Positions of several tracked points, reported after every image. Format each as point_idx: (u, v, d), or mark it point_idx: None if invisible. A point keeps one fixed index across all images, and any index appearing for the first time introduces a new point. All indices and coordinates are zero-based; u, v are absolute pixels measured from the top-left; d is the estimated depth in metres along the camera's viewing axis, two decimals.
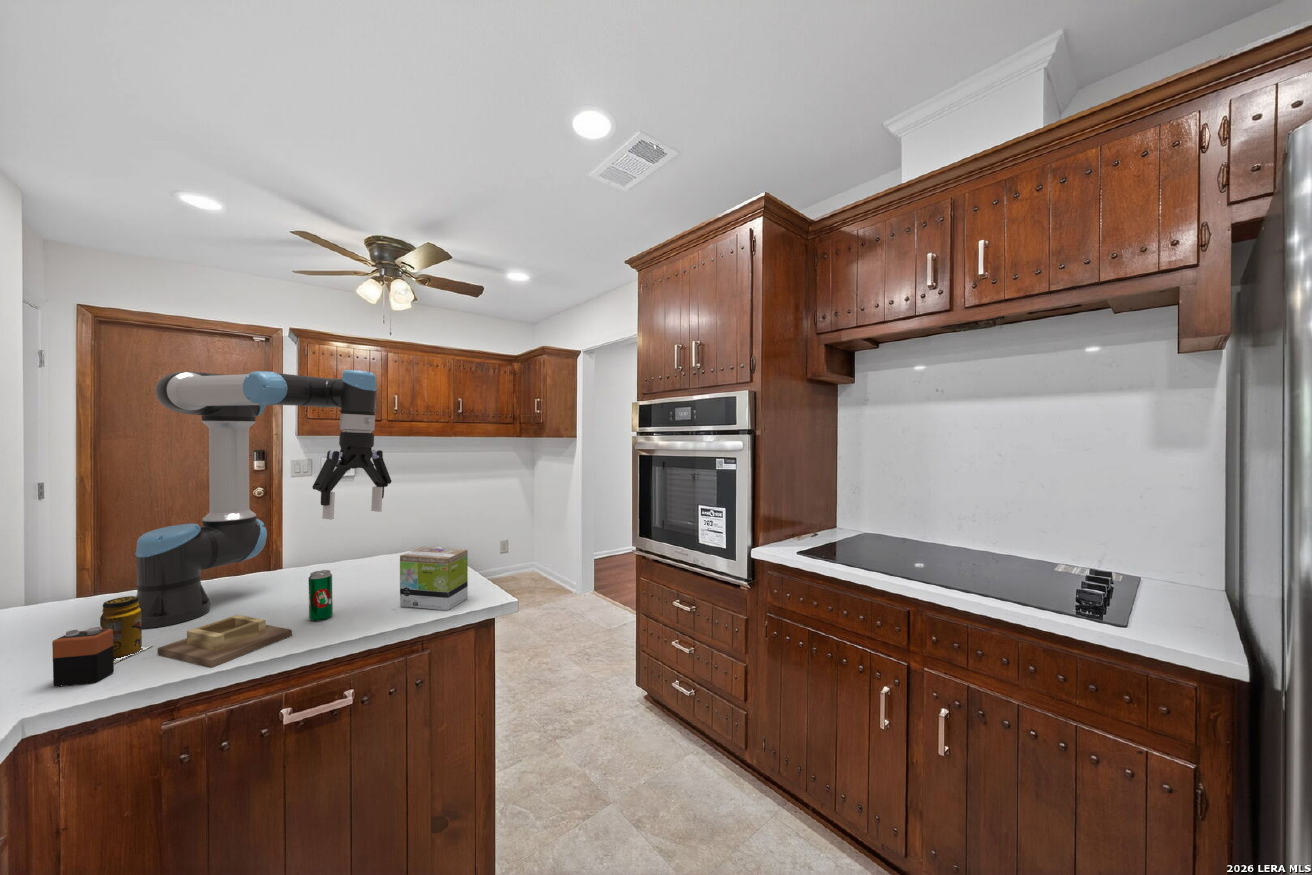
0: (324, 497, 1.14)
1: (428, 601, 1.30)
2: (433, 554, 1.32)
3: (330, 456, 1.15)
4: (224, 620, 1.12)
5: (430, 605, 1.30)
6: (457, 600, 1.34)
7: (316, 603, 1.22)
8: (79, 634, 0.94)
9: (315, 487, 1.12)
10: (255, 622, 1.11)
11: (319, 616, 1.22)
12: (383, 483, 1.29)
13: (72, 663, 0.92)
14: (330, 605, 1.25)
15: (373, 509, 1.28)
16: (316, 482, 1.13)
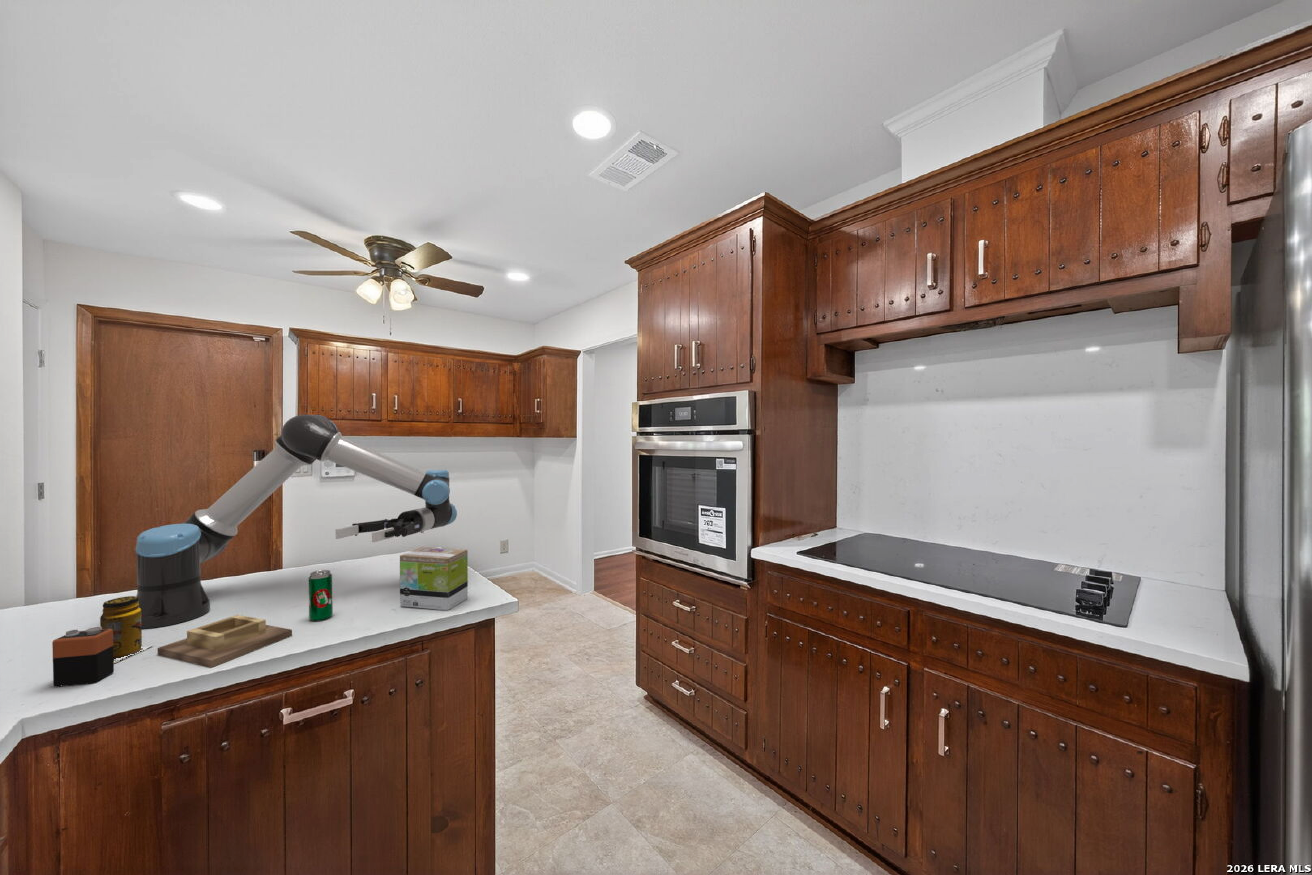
0: (393, 535, 1.36)
1: (428, 601, 1.30)
2: (433, 554, 1.32)
3: (416, 526, 1.46)
4: (224, 620, 1.12)
5: (430, 605, 1.30)
6: (457, 600, 1.34)
7: (316, 603, 1.22)
8: (79, 634, 0.94)
9: (405, 531, 1.38)
10: (255, 622, 1.11)
11: (319, 616, 1.22)
12: None
13: (72, 663, 0.92)
14: (330, 605, 1.25)
15: (338, 531, 1.36)
16: (407, 529, 1.39)
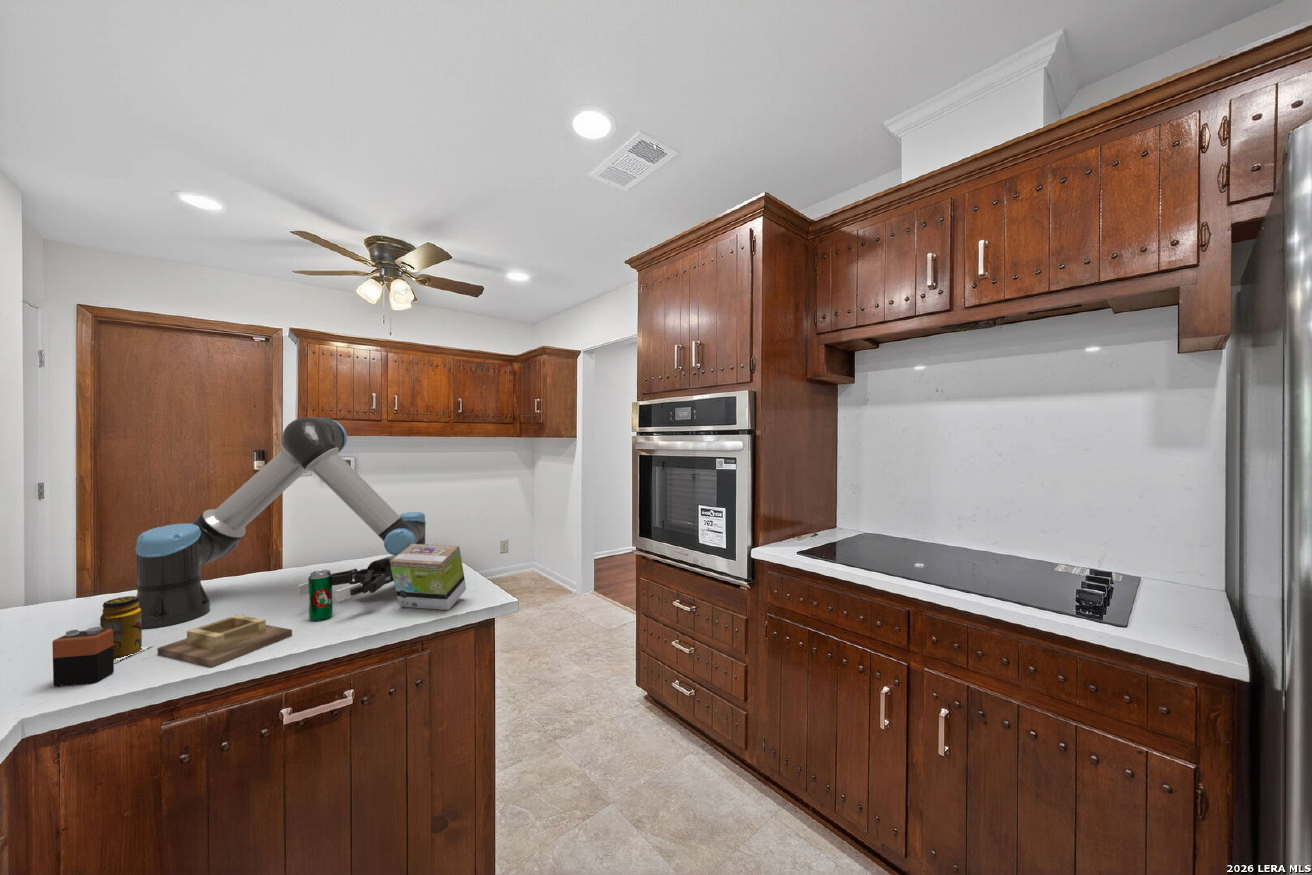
0: (360, 591, 1.26)
1: (427, 602, 1.30)
2: (424, 558, 1.28)
3: (387, 578, 1.36)
4: (224, 620, 1.12)
5: (430, 605, 1.30)
6: (456, 596, 1.33)
7: (316, 603, 1.22)
8: (79, 634, 0.94)
9: (373, 586, 1.28)
10: (255, 622, 1.11)
11: (319, 616, 1.22)
12: None
13: (72, 663, 0.92)
14: (330, 605, 1.25)
15: (301, 587, 1.26)
16: (376, 584, 1.29)
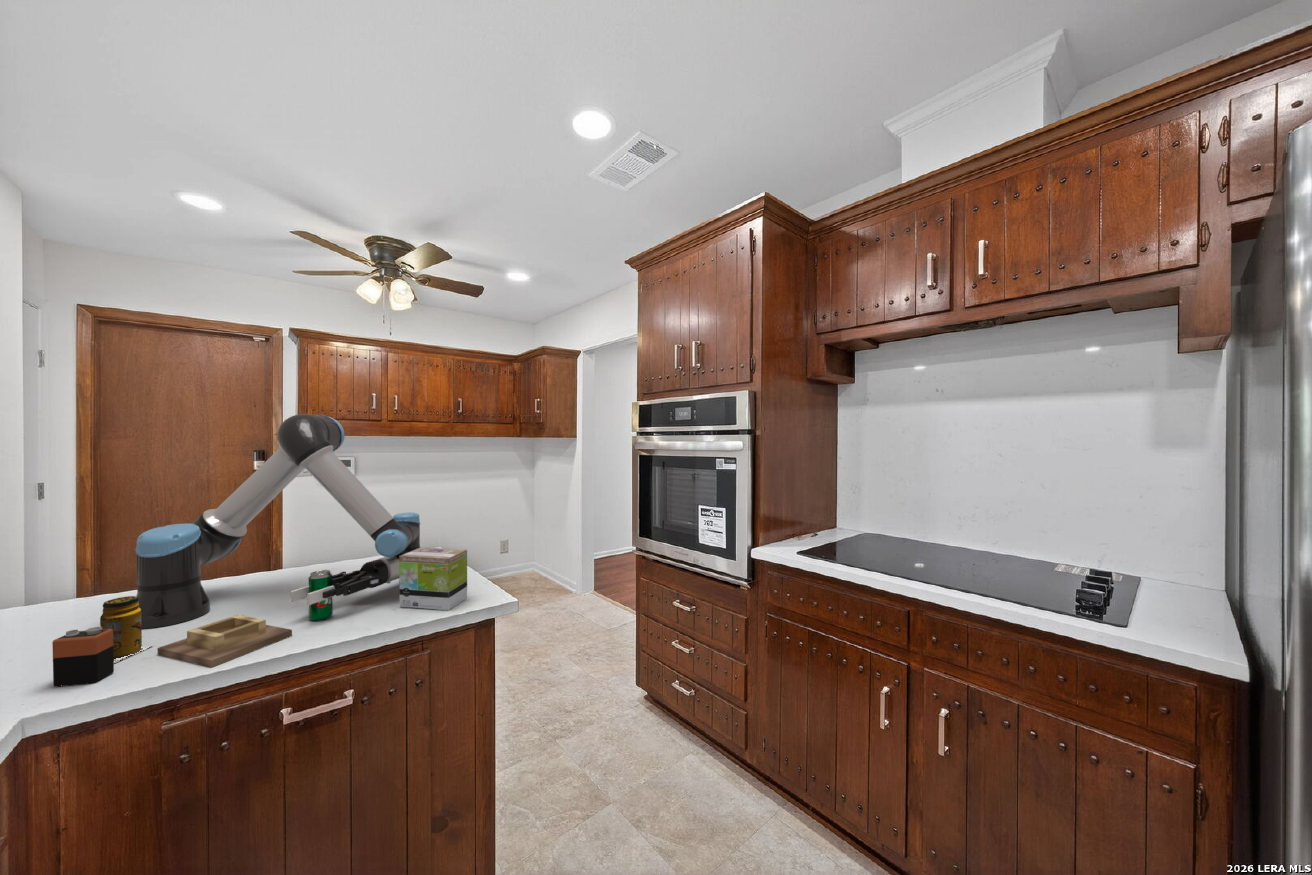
0: (333, 594, 1.23)
1: (428, 601, 1.30)
2: (433, 554, 1.32)
3: (373, 581, 1.32)
4: (224, 620, 1.12)
5: (431, 605, 1.30)
6: (457, 600, 1.34)
7: (316, 603, 1.22)
8: (79, 634, 0.94)
9: (347, 589, 1.25)
10: (255, 622, 1.11)
11: (319, 616, 1.22)
12: None
13: (72, 663, 0.92)
14: (330, 605, 1.25)
15: (294, 593, 1.21)
16: (350, 587, 1.26)
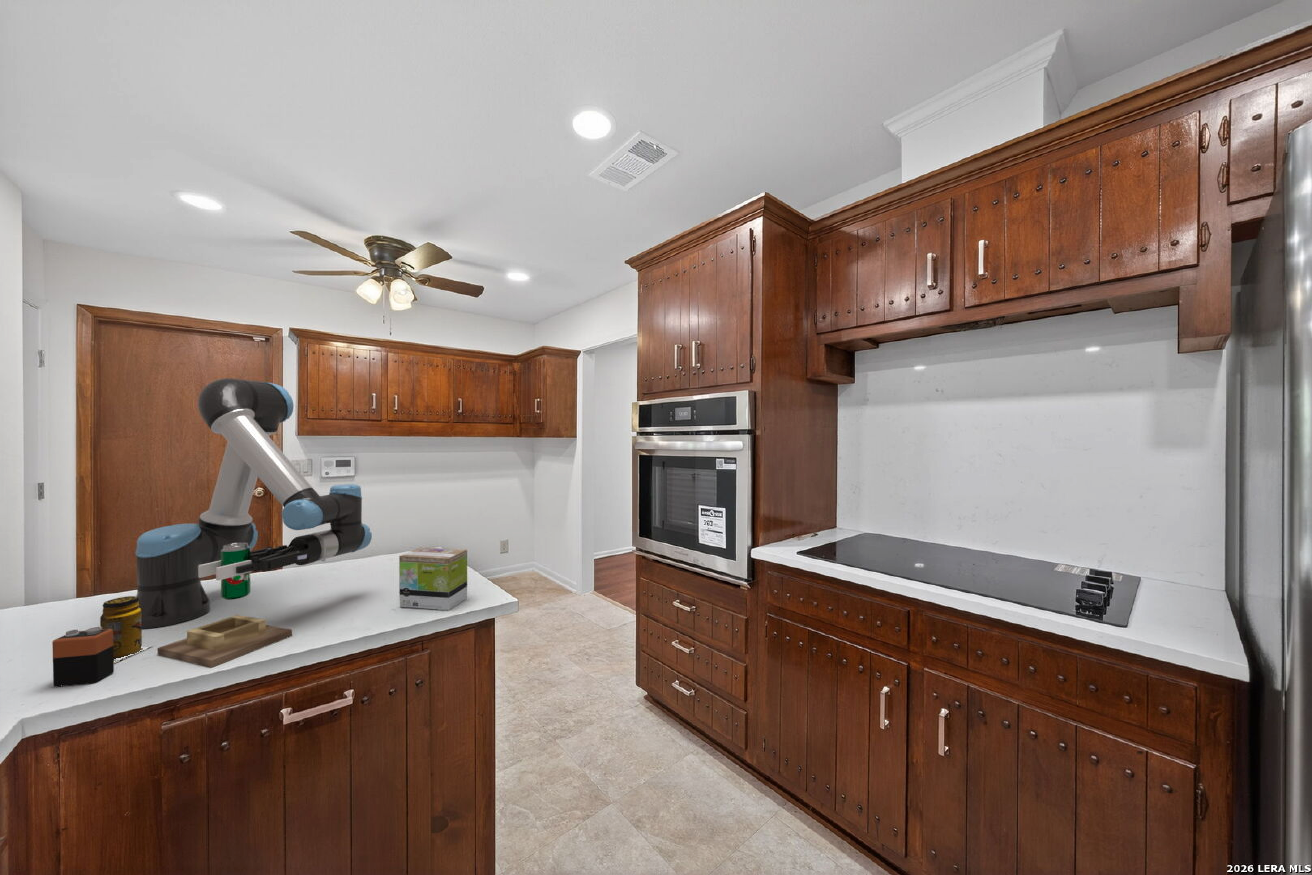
0: (249, 569, 1.09)
1: (428, 601, 1.30)
2: (433, 554, 1.32)
3: (300, 557, 1.18)
4: (224, 620, 1.12)
5: (431, 605, 1.30)
6: (457, 600, 1.34)
7: (228, 579, 1.07)
8: (79, 634, 0.94)
9: (266, 564, 1.10)
10: (255, 622, 1.11)
11: (232, 594, 1.08)
12: None
13: (72, 663, 0.92)
14: (247, 582, 1.10)
15: (202, 568, 1.06)
16: (271, 561, 1.11)
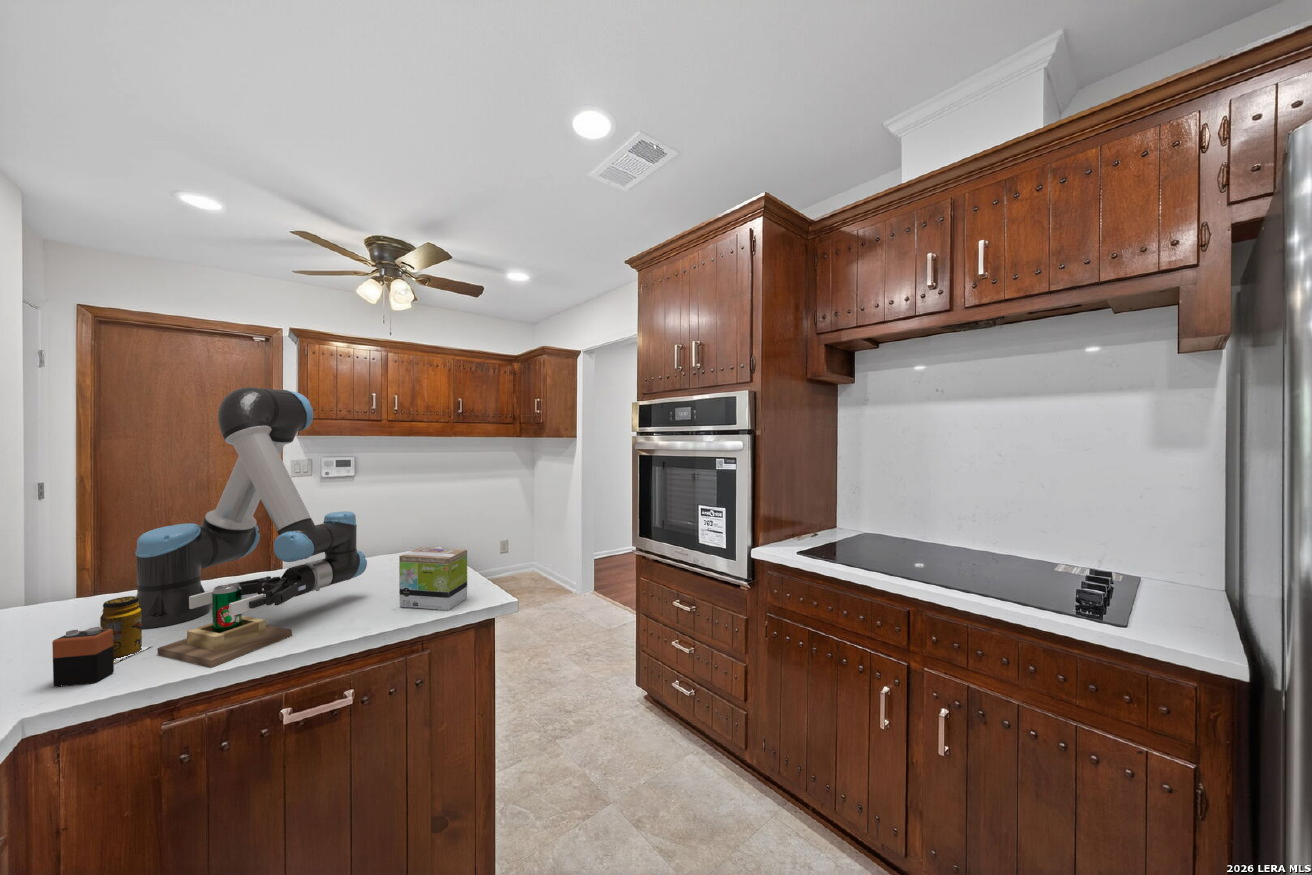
0: (262, 604, 1.08)
1: (428, 601, 1.30)
2: (433, 554, 1.32)
3: (301, 587, 1.18)
4: None
5: (431, 605, 1.30)
6: (457, 600, 1.34)
7: (219, 622, 1.07)
8: (79, 634, 0.94)
9: (279, 598, 1.10)
10: (255, 622, 1.11)
11: None
12: None
13: (72, 663, 0.92)
14: (238, 623, 1.09)
15: (193, 599, 1.08)
16: (282, 594, 1.11)
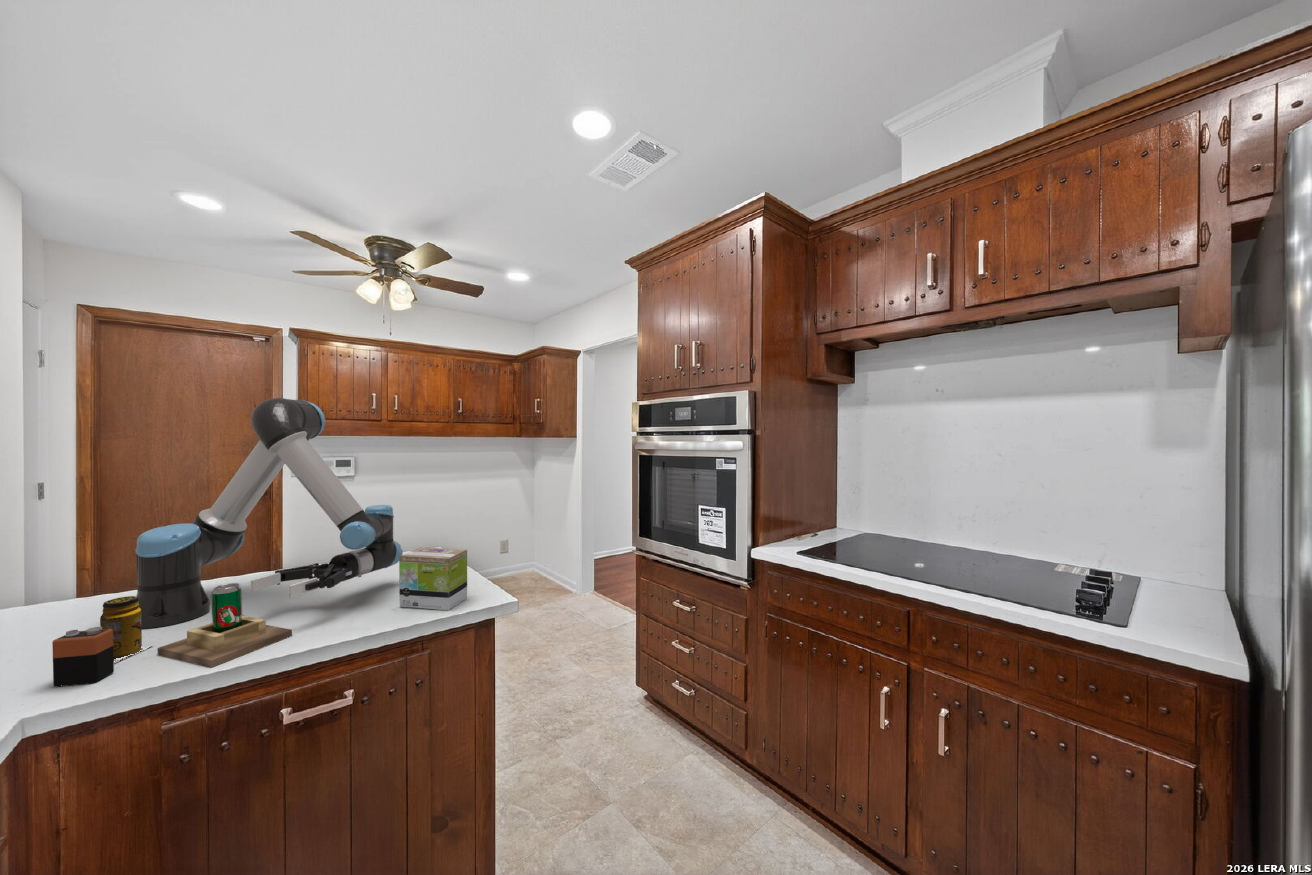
0: (316, 586, 1.20)
1: (428, 601, 1.30)
2: (433, 554, 1.32)
3: (348, 573, 1.30)
4: None
5: (431, 605, 1.30)
6: (457, 600, 1.34)
7: (219, 622, 1.07)
8: (79, 634, 0.94)
9: (331, 581, 1.22)
10: (255, 622, 1.11)
11: None
12: None
13: (72, 663, 0.92)
14: (238, 623, 1.09)
15: (254, 582, 1.20)
16: (334, 578, 1.23)
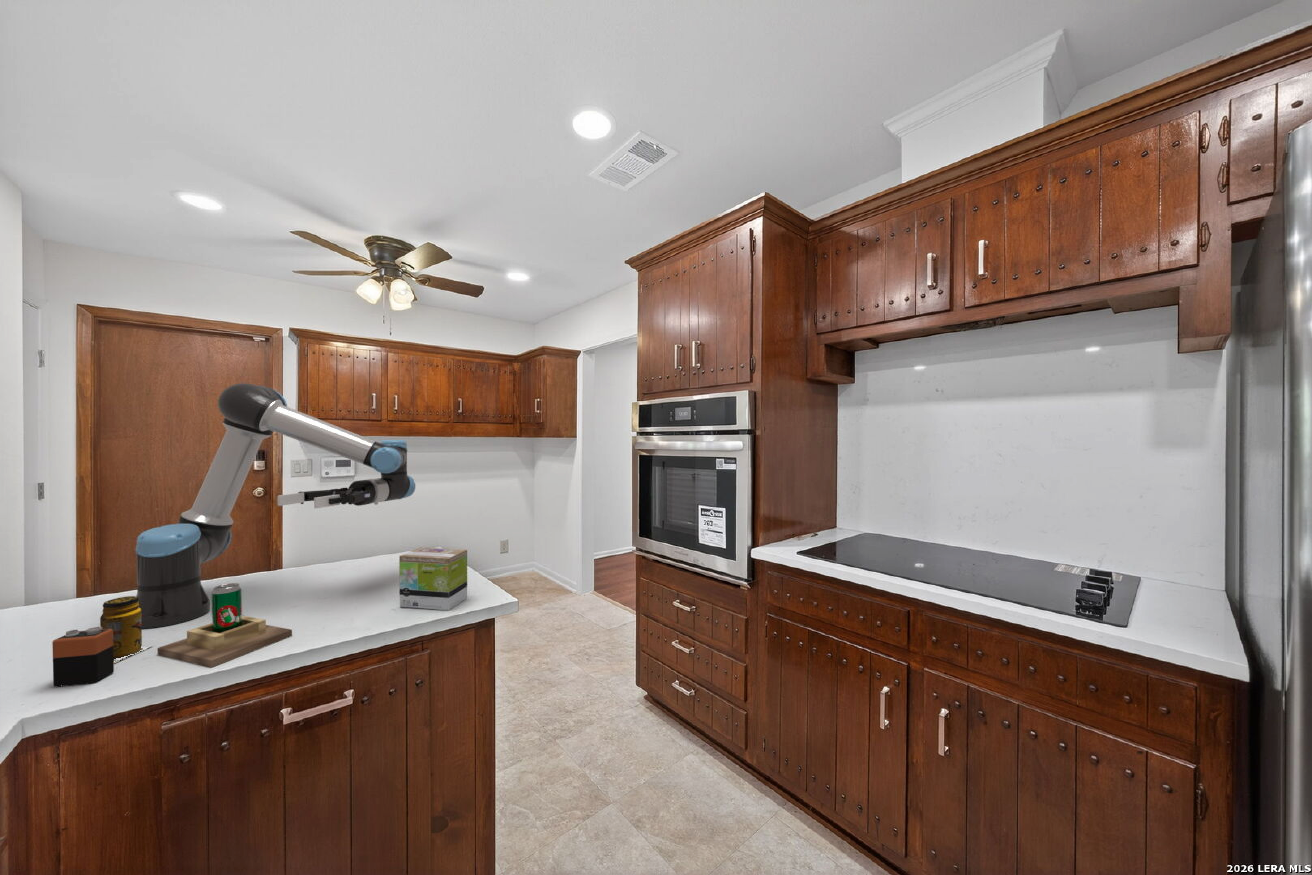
0: (338, 502, 1.29)
1: (428, 601, 1.30)
2: (433, 554, 1.32)
3: (367, 495, 1.39)
4: None
5: (431, 605, 1.30)
6: (457, 600, 1.34)
7: (219, 622, 1.07)
8: (79, 634, 0.94)
9: (352, 498, 1.31)
10: (255, 622, 1.11)
11: None
12: None
13: (72, 663, 0.92)
14: (238, 623, 1.09)
15: (281, 498, 1.29)
16: (354, 496, 1.32)
